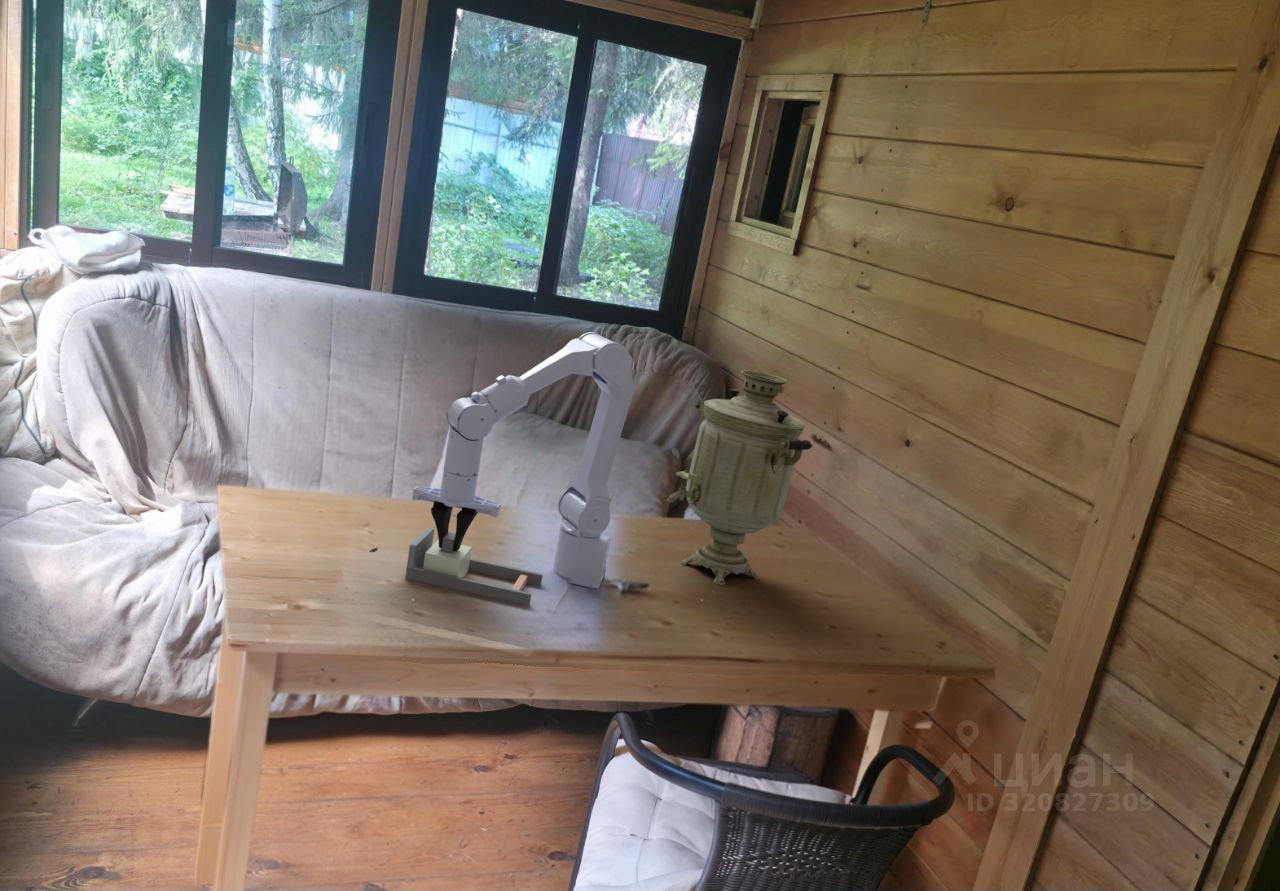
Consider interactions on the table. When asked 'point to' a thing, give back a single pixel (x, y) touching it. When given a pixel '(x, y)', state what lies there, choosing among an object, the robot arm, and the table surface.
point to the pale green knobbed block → (448, 557)
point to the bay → (467, 585)
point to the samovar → (740, 470)
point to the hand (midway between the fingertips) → (449, 547)
